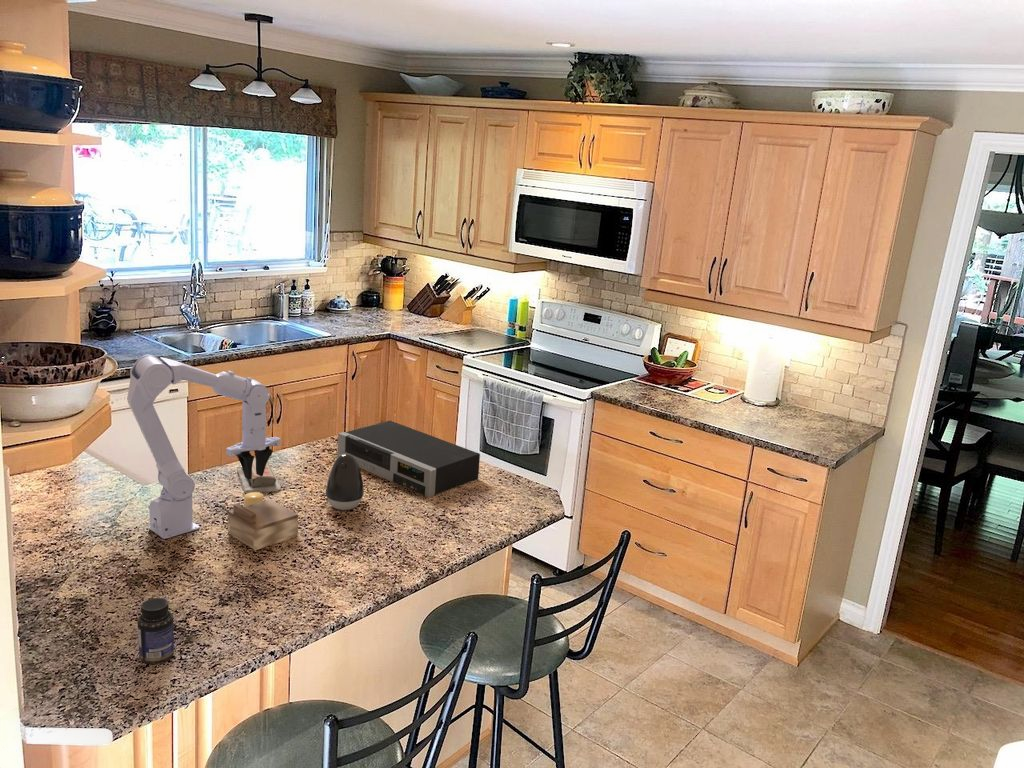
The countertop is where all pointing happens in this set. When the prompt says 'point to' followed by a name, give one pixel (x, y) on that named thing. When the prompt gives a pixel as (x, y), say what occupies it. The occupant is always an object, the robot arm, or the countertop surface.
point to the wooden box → (262, 533)
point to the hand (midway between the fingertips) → (253, 476)
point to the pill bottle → (155, 631)
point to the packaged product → (259, 480)
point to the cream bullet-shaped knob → (252, 498)
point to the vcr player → (410, 457)
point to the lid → (262, 514)
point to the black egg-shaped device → (345, 483)
